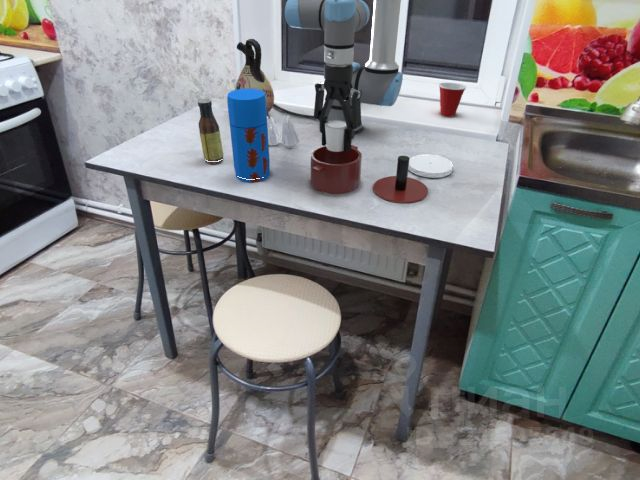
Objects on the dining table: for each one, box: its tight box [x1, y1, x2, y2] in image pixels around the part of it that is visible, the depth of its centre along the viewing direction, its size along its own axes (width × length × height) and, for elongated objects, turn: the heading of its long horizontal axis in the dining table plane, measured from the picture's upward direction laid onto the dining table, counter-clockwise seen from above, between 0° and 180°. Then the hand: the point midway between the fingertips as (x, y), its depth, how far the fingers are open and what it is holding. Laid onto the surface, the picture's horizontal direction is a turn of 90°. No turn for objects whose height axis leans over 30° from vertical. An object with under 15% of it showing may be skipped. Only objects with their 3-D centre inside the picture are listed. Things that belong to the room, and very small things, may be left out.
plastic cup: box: [438, 82, 467, 118], centre depth 190 cm, size 11×11×12 cm
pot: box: [310, 144, 363, 195], centre depth 140 cm, size 15×20×10 cm
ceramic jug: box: [234, 38, 275, 118], centre depth 181 cm, size 17×15×30 cm
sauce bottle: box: [197, 98, 224, 165], centre depth 149 cm, size 6×6×20 cm
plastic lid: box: [408, 153, 454, 179], centre depth 149 cm, size 14×14×2 cm
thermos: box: [226, 89, 271, 184], centre depth 140 cm, size 11×11×25 cm
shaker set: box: [267, 115, 301, 149], centre depth 163 cm, size 12×4×11 cm, turn 67°
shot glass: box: [325, 120, 347, 152], centre depth 134 cm, size 7×7×7 cm
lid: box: [372, 155, 429, 204], centre depth 135 cm, size 16×16×11 cm
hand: (336, 146), depth 136 cm, fingers closed on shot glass, 7 cm apart
